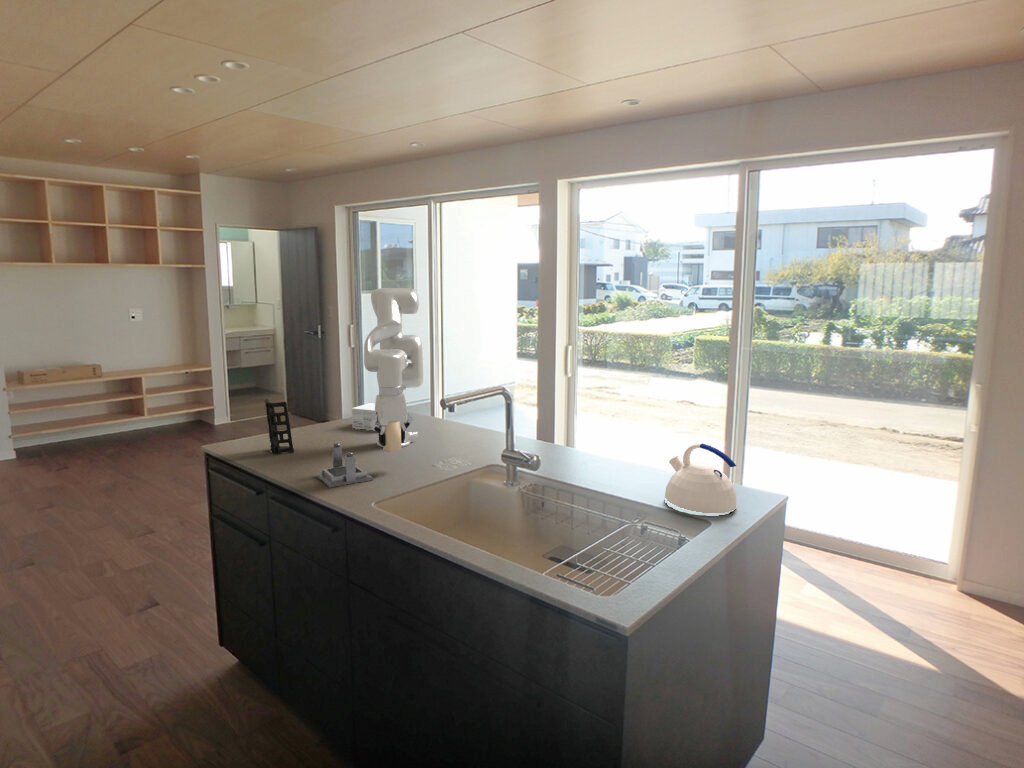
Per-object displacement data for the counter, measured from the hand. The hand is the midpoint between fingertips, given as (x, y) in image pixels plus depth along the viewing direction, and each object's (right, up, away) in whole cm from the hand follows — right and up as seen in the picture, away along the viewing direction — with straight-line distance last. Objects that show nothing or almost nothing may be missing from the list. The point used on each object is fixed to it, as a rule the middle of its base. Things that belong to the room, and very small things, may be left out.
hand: (392, 443), depth 213 cm
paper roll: (0, -2, 0) cm, 2 cm away
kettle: (+94, -15, -28) cm, 100 cm away
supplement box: (-18, +1, +63) cm, 66 cm away
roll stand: (-14, -11, -6) cm, 19 cm away
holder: (-46, -6, +24) cm, 52 cm away
